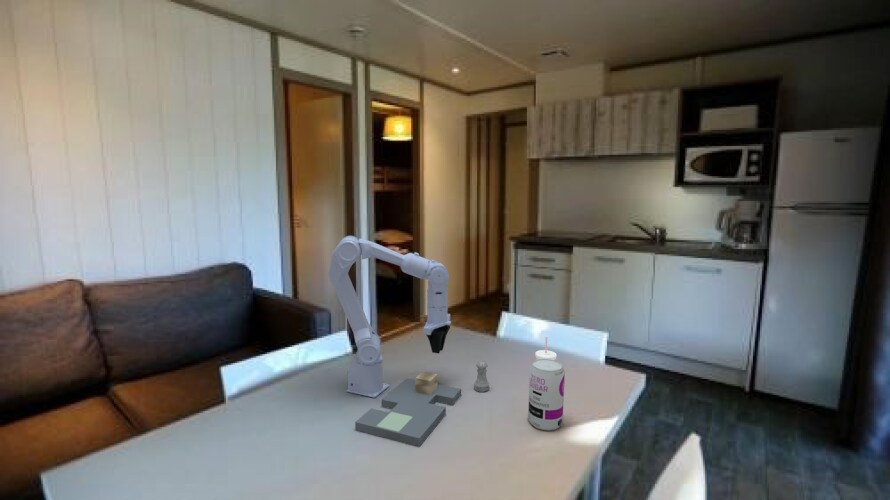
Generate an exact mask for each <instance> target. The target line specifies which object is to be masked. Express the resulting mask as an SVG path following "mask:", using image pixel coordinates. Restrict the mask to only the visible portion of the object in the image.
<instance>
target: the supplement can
mask: <svg viewBox="0 0 890 500" xmlns="http://www.w3.org/2000/svg"><path fill="white" fill-rule="evenodd" d="M565 373H566V372H565V369H564V367H563V364H562V363H561V362H559V361H557V360H556V359H555V360H550V359H539V360H534V361H533V362H532V365H531V366H530V368H529V379H528V380H529V382H528V383H529V384H528V413H527V414H528V415H527V419H528V421H529V423H530V424H531V425H532V426H533V427H535V428H536V429H538V430H543V431H549V432H550V431H555V430H557V429H559V428H560V427H561V426H562V425H563V423H564V422H563V420H564V399H565V398H564V397H565V396H564V395H565V377H566V376H565Z"/></svg>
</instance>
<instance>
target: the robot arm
mask: <svg viewBox="0 0 890 500" xmlns="http://www.w3.org/2000/svg"><path fill="white" fill-rule="evenodd" d="M331 255H332V256H331V261H330V264H329V270H328V277H329V280H330V282H331V284H332V286H333V288H334V291H335V293H336V295H337V298H338V300H339V302H340V306H341V307H342V310H343V311H344V315H345V317H346V319H347V320H348V323H349V324H348V325H349V326H350V328H351V330H352V332H353V336H354V337H353V338H354V342H355V345H356V348H357V355H356V356H354V357H353V358H351V359H350V361H349V363H348V366H347V385H348V386H347V389H346V392H347V393H352V394H356V395H361V396H364V397H370V398H373V399H375V398H377V397H378V396H379V395H380V394H381V393H383V392H384V391H385V390H386V389H387V388H389V387H390V384H389V383H384V366H383V365H384V364H383V362H384V361H383V360H384V358H383V355H381V354H382V353H381V352H382V351H381V344H382V343H381V342H382V339H381V337H380V336H379V335H378V334H377V333H376V332H375V331H374V329H373V327H372V325H371V323H369V320H368V317H367V316H366V313H365V311H364V309H363V306H362V304H361V301H360V299H359V297H358V294H357V292H356V290H355V288H354V285H353V282H352V280H351V278H350V275H349V271H350V269H351V267H352V265H353V264H354V263H355V262H357V260H358V259H359V258H360V256H361V260H366V259H370V258H374V259H379V260H381V261H384V262H387V263H390V264H392V265H393V264H394V265H396V266H399V268H400V270H401V271H402V272H403V273H404V274H407V275H410V276H413V277H416V278H418V279H420V280H428V281H427V295H426V296H427V298H426V300H427V301H426V303H427V304H426V306H427V307H426V308H427V312H426V313H427V318H426V319H427V320H426V321H425V322H426V323H425V325H424V327H423V328H422V329H423V331H422V333H423V335H426V337H427V339H428V342H429V344H430V348H431V352H432V353H433V354H440V353H441V352H442V351H443V349H444V346H445V343H446V338H447V335H448V332H449V330H450V329H451V324H452V321H451V313H448V310H449V309H448V302H449V301H448V300H449V299H448V298H449V297H448V294H449V293H448V282H449V280H450V273H449V271H448V269H447V268H446V266H445V265H444V264H443V263H441V262H439V261H436V260H434V259H432V258H431V259H429V258H426V257H423V256H420V254H419V253H418V252H416V251H415V252H414V253H413V252H409V253H407V254H402V253H400V252H397V251H395V250H393V249H390V248H387V247H386V246H383V245H381V244H378V243H377V242H374V241H370V240H368V239H365V238H361V237H359V238H358V237H356V236H354V235H347V236H344V237H343V238H341V240H340V241H339V242H338V244H337V246H336V247H335V248H334V250H333V251H332V254H331Z"/></svg>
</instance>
